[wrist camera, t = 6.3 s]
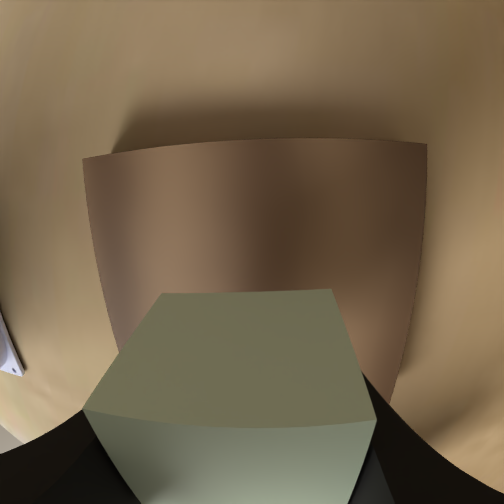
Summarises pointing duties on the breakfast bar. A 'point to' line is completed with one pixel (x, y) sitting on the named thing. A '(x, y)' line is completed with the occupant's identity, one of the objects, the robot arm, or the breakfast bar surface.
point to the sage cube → (236, 401)
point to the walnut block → (266, 230)
